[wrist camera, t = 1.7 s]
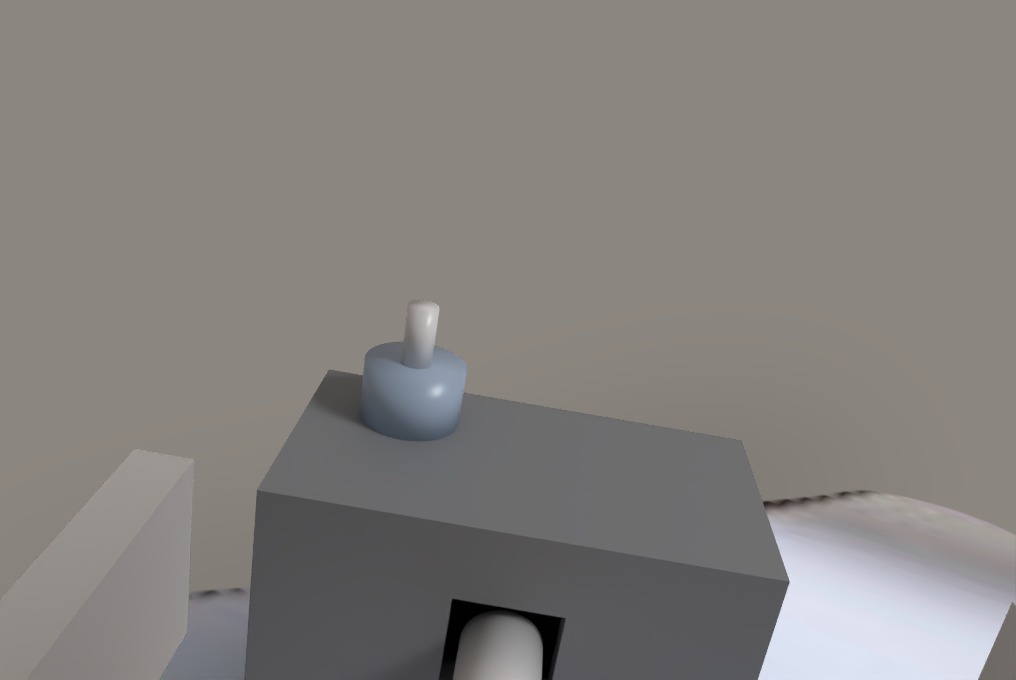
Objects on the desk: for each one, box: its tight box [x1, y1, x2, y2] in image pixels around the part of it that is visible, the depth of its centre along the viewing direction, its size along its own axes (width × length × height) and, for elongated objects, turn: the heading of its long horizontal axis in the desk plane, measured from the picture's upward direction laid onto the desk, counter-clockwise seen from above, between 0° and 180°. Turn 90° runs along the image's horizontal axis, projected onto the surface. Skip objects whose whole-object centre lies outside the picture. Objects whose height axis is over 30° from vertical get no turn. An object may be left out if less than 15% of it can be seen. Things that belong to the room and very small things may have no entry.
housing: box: [245, 370, 790, 680], centre depth 39 cm, size 18×10×14 cm, turn 87°
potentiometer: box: [359, 300, 467, 441], centre depth 37 cm, size 4×4×5 cm
